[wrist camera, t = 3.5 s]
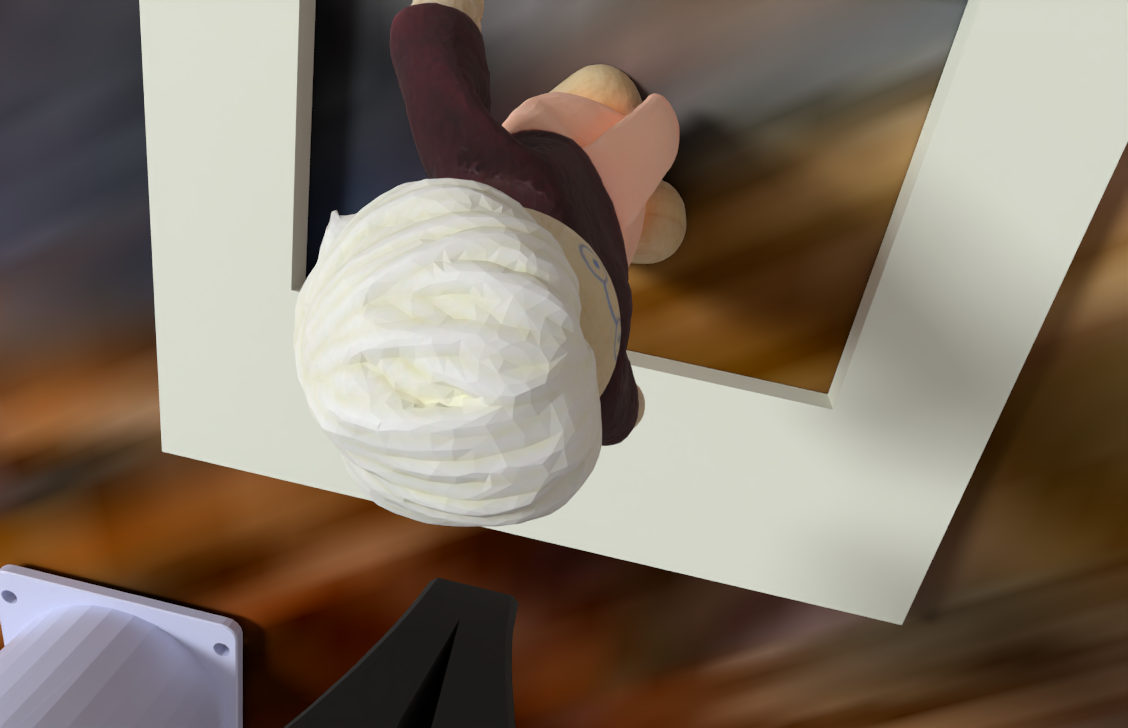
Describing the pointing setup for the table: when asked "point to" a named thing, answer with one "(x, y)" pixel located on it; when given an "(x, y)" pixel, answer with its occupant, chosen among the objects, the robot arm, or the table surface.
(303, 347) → the grandmother figurine
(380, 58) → the table surface
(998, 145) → the pale rectangular frame
